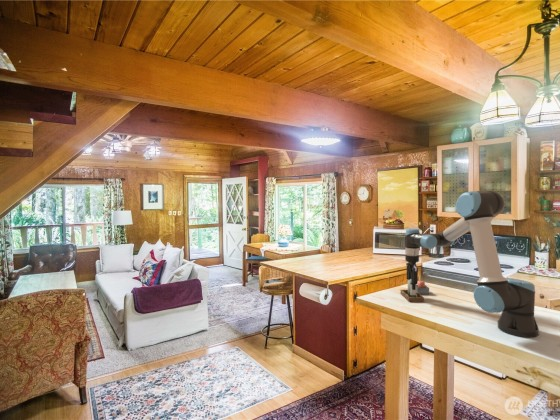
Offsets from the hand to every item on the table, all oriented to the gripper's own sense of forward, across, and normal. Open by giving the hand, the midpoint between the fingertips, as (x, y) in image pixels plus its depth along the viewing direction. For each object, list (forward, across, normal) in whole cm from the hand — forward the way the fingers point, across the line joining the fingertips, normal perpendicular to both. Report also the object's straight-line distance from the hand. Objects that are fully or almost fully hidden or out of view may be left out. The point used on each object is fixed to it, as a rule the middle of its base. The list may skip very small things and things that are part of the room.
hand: (411, 293), depth 197 cm
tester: (+3, +10, -9) cm, 14 cm away
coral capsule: (+2, +10, -9) cm, 13 cm away
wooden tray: (+2, 0, 0) cm, 2 cm away
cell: (+2, 0, 0) cm, 2 cm away
